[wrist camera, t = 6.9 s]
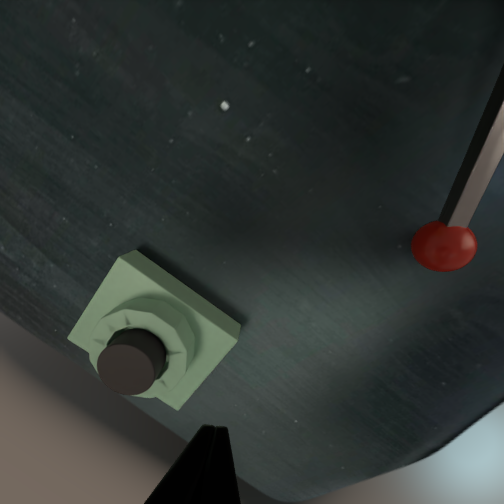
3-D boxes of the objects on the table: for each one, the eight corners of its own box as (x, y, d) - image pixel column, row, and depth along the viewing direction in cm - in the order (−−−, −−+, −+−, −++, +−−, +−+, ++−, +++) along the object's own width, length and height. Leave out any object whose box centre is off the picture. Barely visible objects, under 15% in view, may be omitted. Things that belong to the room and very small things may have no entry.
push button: (177, 349, 16) (166, 367, 14) (149, 384, 17) (135, 406, 15) (130, 317, 16) (114, 332, 14) (104, 355, 16) (85, 373, 15)
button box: (241, 324, 19) (235, 357, 15) (186, 389, 21) (168, 433, 17) (135, 249, 18) (100, 263, 14) (87, 323, 20) (44, 354, 16)
